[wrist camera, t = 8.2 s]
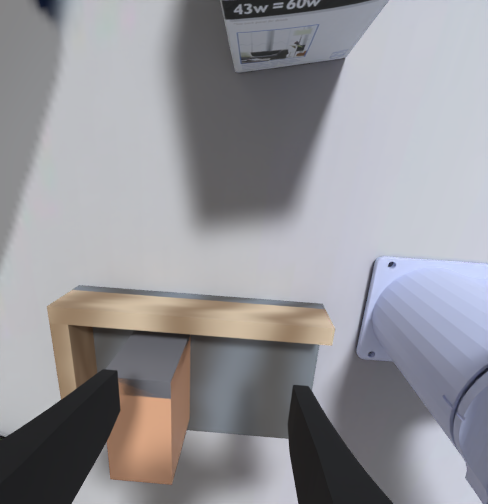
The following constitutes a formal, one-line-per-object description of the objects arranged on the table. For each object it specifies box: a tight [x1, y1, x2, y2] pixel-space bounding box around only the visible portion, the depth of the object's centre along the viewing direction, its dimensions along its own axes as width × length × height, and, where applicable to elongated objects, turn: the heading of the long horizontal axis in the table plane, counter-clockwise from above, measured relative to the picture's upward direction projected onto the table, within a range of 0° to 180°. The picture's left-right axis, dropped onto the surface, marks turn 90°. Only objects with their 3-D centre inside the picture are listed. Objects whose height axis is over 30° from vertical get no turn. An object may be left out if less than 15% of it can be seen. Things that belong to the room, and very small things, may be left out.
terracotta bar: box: [106, 330, 191, 485], centre depth 19 cm, size 8×4×5 cm, turn 176°
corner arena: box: [47, 286, 335, 439], centre depth 20 cm, size 18×12×3 cm, turn 86°
